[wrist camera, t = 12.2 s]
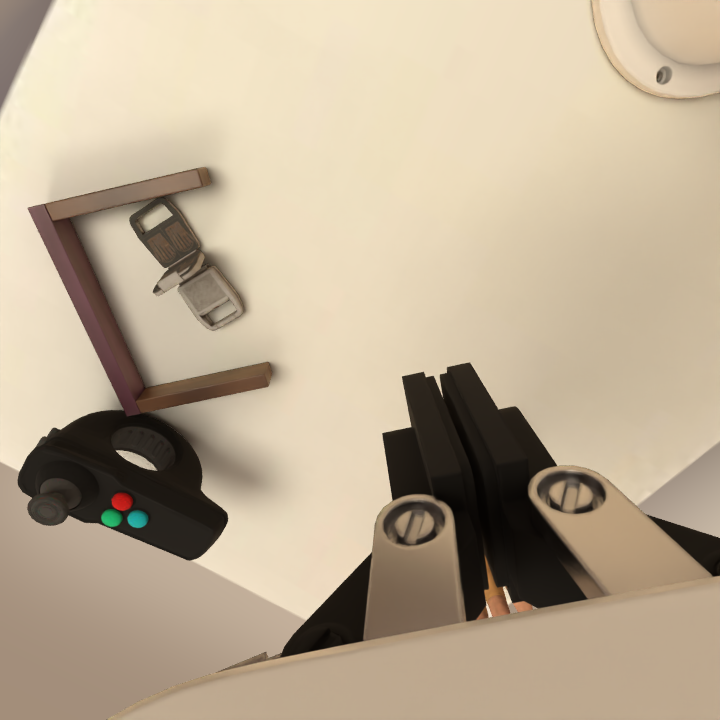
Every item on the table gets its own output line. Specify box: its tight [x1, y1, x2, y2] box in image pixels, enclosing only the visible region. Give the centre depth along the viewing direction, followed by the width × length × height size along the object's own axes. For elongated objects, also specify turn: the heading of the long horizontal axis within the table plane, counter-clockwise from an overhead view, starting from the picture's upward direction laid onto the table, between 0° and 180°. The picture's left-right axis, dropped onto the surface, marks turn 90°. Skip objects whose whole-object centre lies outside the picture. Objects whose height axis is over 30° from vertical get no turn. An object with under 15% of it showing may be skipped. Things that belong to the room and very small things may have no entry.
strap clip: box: [129, 197, 244, 331], centre depth 29 cm, size 8×3×4 cm, turn 30°
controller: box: [18, 410, 228, 561], centre depth 32 cm, size 4×12×10 cm, turn 55°
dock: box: [28, 167, 272, 416], centre depth 31 cm, size 10×14×2 cm
